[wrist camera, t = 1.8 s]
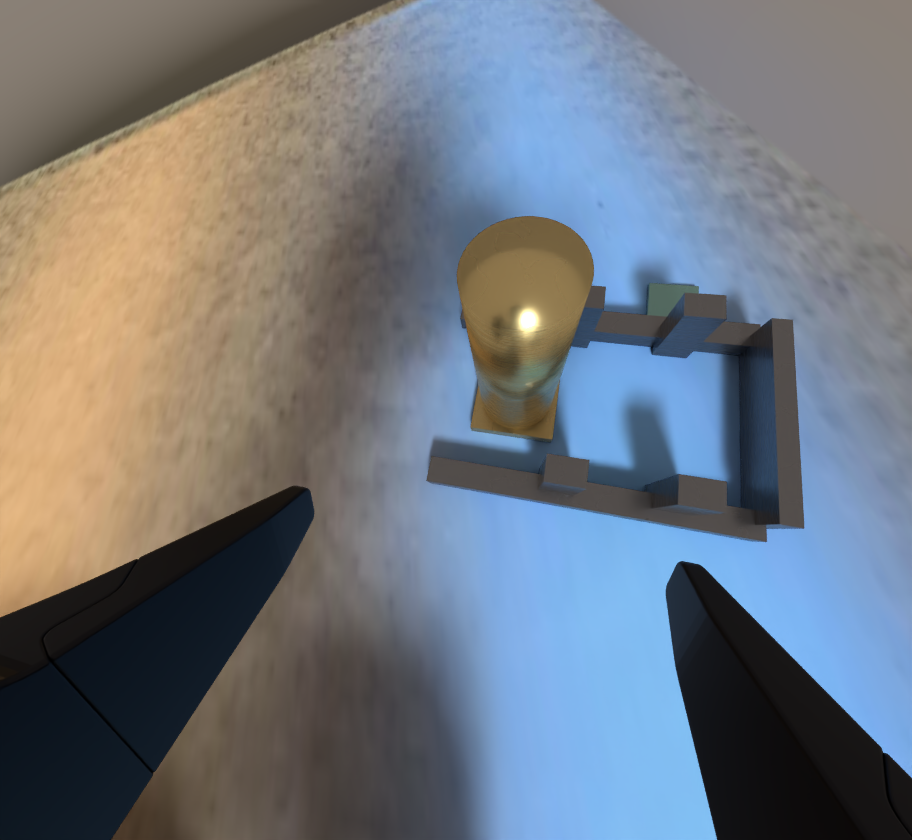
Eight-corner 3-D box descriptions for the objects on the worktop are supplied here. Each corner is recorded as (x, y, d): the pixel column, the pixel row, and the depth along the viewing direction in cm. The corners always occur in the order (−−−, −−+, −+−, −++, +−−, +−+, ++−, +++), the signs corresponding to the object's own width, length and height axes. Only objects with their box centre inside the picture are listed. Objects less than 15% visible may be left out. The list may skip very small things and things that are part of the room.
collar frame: (762, 543, 20) (832, 546, 15) (430, 483, 23) (412, 472, 19) (755, 293, 24) (810, 241, 19) (473, 273, 27) (467, 225, 23)
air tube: (550, 442, 23) (596, 347, 11) (471, 430, 24) (434, 330, 12) (560, 368, 24) (609, 212, 12) (484, 360, 25) (462, 206, 13)
